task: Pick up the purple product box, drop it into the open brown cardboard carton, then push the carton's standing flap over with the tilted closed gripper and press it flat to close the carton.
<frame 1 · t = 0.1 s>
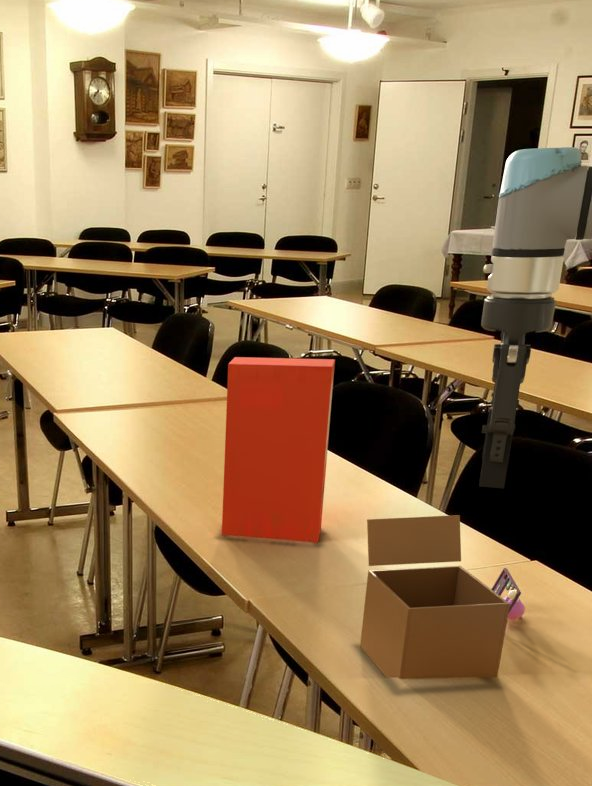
hand: (492, 472, 113), 26 cm above the table, tool pointing down, fingers open, 13 cm apart
flap: (414, 540, 122), point 15 cm above the table, hinge at 110.0°
carton: (424, 665, 121), on the table
purple product box: (504, 620, 133), on the table
red rectangular block: (271, 535, 170), on the table
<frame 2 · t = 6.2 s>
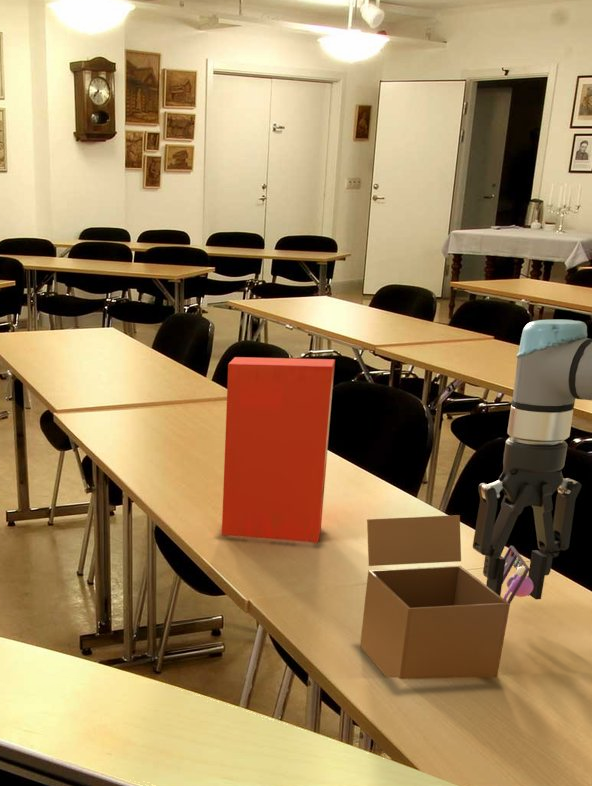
hand: (512, 596, 131), 4 cm above the table, tool pointing down, fingers closed on purple product box, 5 cm apart
purple product box: (513, 599, 131), point 4 cm above the table, touching gripper
everything else where it was.
when the fingers open (8 cm above the table, at t = 13.1 s): purple product box stays where it is, resting on carton.
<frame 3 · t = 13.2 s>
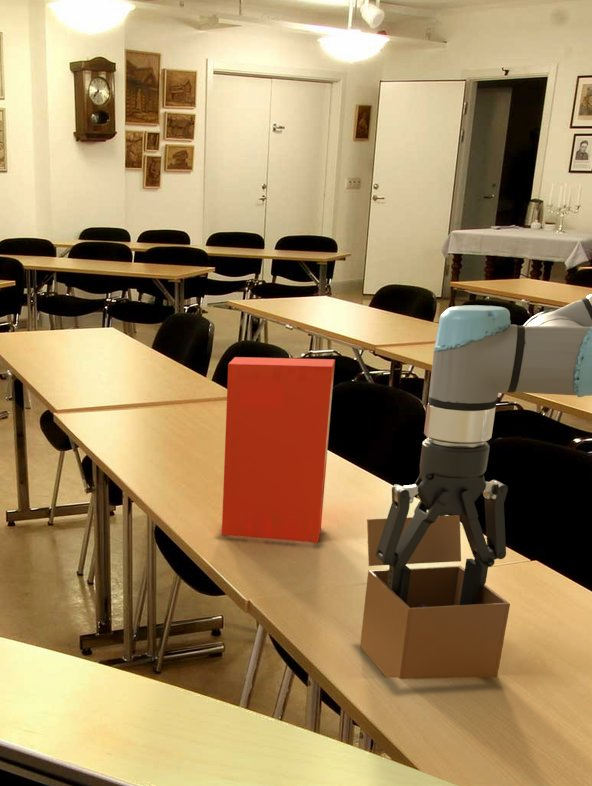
hand: (432, 610, 118), 8 cm above the table, tool pointing down, fingers open, 9 cm apart
purple product box: (424, 662, 121), resting on carton
everything else where it was.
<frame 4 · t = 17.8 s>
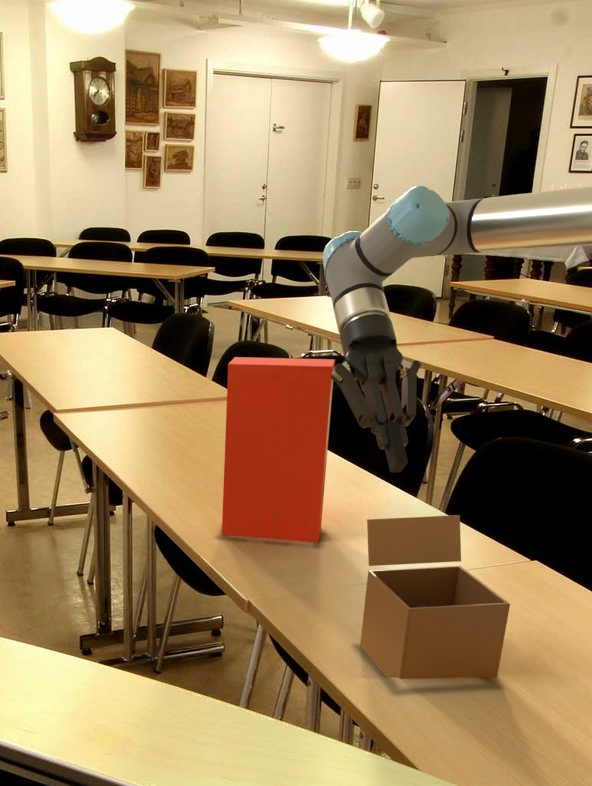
hand: (399, 467, 126), 23 cm above the table, tool tilted 45°, fingers closed
nothing on the table moved.
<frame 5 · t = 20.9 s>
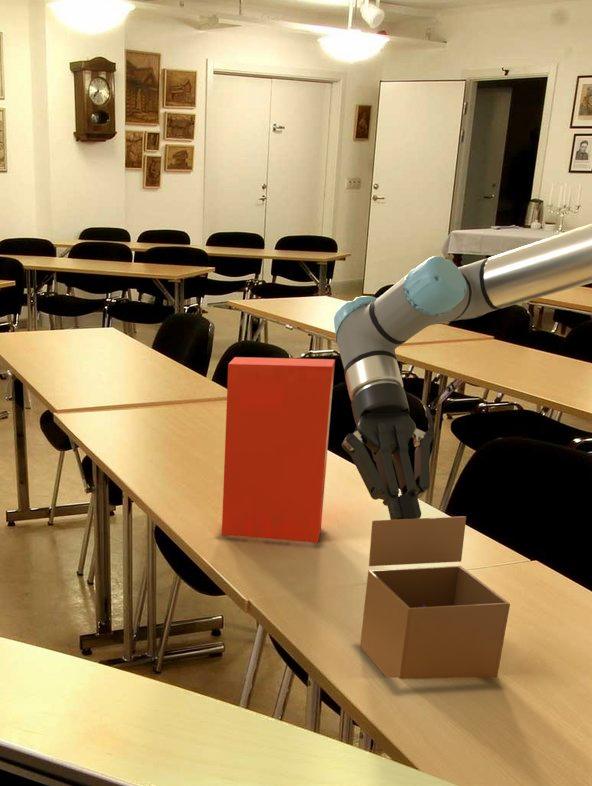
hand: (411, 541, 123), 15 cm above the table, tool tilted 45°, fingers closed
flap: (417, 541, 121), point 15 cm above the table, hinge at 94.1°, touching gripper
everything else where it was.
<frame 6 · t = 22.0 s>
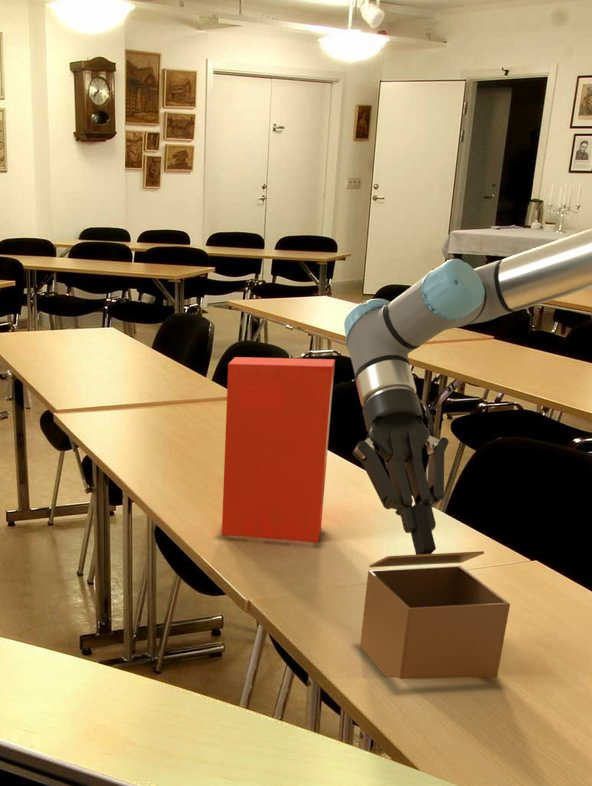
hand: (426, 553, 119), 15 cm above the table, tool tilted 45°, fingers closed
flap: (425, 559, 119), point 14 cm above the table, hinge at 32.2°
everything else where it was.
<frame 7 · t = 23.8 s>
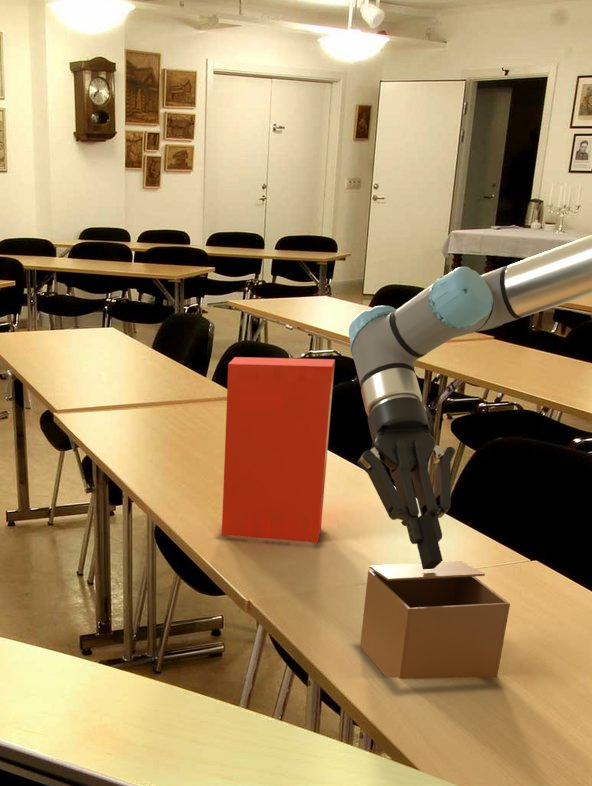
hand: (432, 564, 117), 14 cm above the table, tool tilted 45°, fingers closed
flap: (425, 570, 119), point 12 cm above the table, hinge at 5.8°, touching gripper
everything else where it was.
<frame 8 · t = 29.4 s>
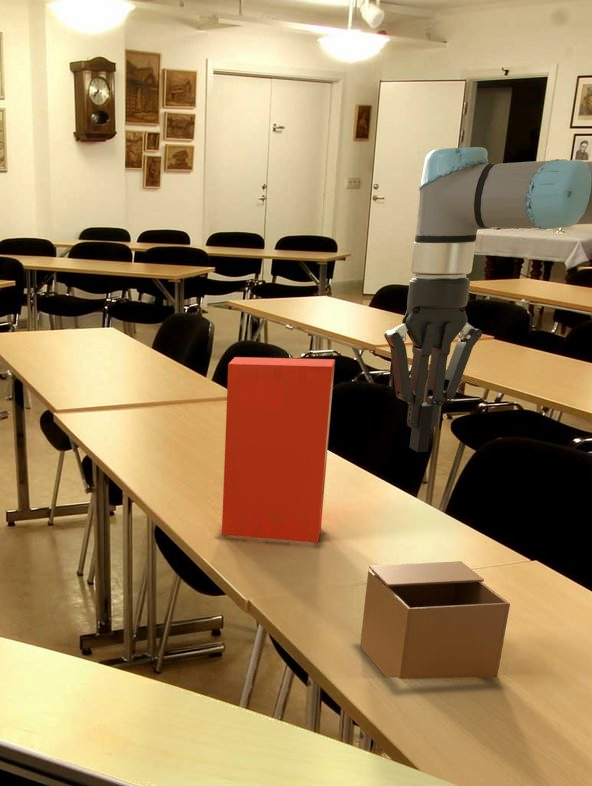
hand: (418, 449, 130), 24 cm above the table, tool pointing down, fingers closed
flap: (425, 573, 119), point 12 cm above the table, hinge at -1.3°
everything else where it was.
at the end: purple product box inside the target area in the carton (0.2 cm from its centre), point 0.3 cm above the carton's base; flap at -1° (first picture: +110°) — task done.
